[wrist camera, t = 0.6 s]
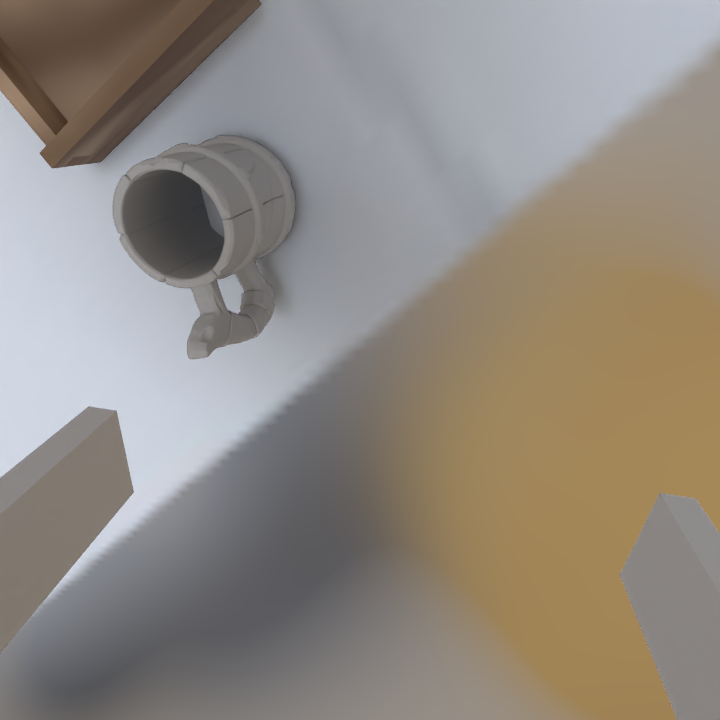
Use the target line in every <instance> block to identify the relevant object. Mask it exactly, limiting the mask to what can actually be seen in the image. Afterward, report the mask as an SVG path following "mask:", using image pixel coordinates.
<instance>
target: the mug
mask: <svg viewBox="0 0 720 720" xmlns="http://www.w3.org/2000/svg"><path fill="white" fill-rule="evenodd" d="M294 214H295V193H294V191H293V189H292V185H291V178H290V176H289V174H288V172H287V171H286V169H285V167H284V166H283V164H282V163H281V162H280V161H279V159H278V158H277V157H276V156H275V155H274V154H272V153H271V152H270V151H268V150H267V149H266V148H264V147H263V146H261V145H260V144H258V143H256V142H254V141H252V140H249V139H246V138H243V137H238V136H225V135H219V136H216V137H214V138H212V139H209V140H207V141H205V142H203V143H201V144H200V145H189V144H187V143H181V144H178V145H176V146H174V147H172V148H170V149H168V150H166V151H164V152H163V153H161V154H160V155H158V156H157V157H155V158H151V159H147V160H144V161H142V162H140V163H138V164H136V165H134V166H133V167H131V168H130V170H129V171H128V172H127V173H126V175H123V176H122V178H121V179H120V181H119V183H118V185H117V187H116V190H115V194H114V199H113V218H114V223H115V226H116V228H117V231H118V233H120V234H122V235H121V236H120V242H121V244H122V246H123V247H124V249H125V250H126V252H127V253H128V255H129V256H130V258H131V259H132V260H133V261H134V262H135V263H136V264H137V265H138V266H139V267H140V268H141V269H142V270H143V271H144V272H145V273H147V274H148V275H149V276H151V277H152V278H154V279H156V280H158V281H160V282H165V281H166V284H168V285H171V286H174V287H179V288H191V290H192V292H193V295H194V298H195V301H196V304H197V306H198V308H199V311H200V317H199V318H198V319H197V320H196V321H195V323H194V325H193V327H192V330H191V333H190V335H189V338H188V341H187V354H188V358H189V359H199V358H205V357H208V356H209V355H210V354H211V353H212V351H213V350H214V349H216V348H219V347H223V346H226V345H229V344H235V343H241V342H243V341H246V340H249V339H252V338H255V337H257V336H258V335H259V334H260V333H261V332H262V330H263V329H264V327H265V326H266V325H267V323H268V322H269V320H270V319H271V316H272V314H273V310H274V307H275V304H274V302H273V299H274V295H275V293H274V290H273V288H272V286H271V285H270V284H269V283H268V282H267V281H266V280H265V279H264V277H263V276H262V274H261V273H260V271H259V269H258V267H257V265H256V262H255V259H258V258H261V257H264V256H266V255H268V254H269V253H271V252H272V251H274V250H275V249H276V248H277V247H278V246H279V245H280V244H281V243H282V242H283V241H284V240H285V238H286V237H287V235H288V233H289V231H290V229H291V227H292V223H293V219H294ZM232 274H236V277H237V279H238V280H239V282H240V284H241V285H242V287H243V289H244V293H242V300H241V306H240V310H241V311H240V312H239V313H238V314H236V313H233V312H231V311H229V310H227V308H226V306H225V303H224V301H223V298H222V295H221V292H220V289H219V286H218V283H217V279H222V278H225V277H228V276H230V275H232Z"/></svg>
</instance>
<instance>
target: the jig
mask: <svg viewBox="0 0 720 720" xmlns="http://www.w3.org/2000/svg"><path fill="white" fill-rule="evenodd" d="M260 5H261V2H260V1H259V0H0V91H1V92H2V93H3V94H4V95H5V97H6V98H7V99H8V100H9V101H10V103H11V104H12V105H13V106H14V107H15V109H16V110H17V111H18V112H19V113H20V115H21V116H22V117H23V118H24V119H25V121H26V122H27V123H28V124H29V125H30V127H31V128H32V129H33V130H34V131H35V133H36V134H37V135H38V136H39V137H40V139H41V140H42V141H43V142H44V143H45V145H46V147H45V148H44V149H43V150H42V151H41V152H40V154H41V156H42V157H43V158H44V159H45V160H46V162H47V163H48V164H49V165H50V166H51V168H59V167H67V166H74V165H82V164H90V163H98V162H101V161H102V160H103V159H104V158H105V157H106V156H107V155H108V154H109V153H110V152H111V151H112V150H113V149H114V148H115V147H116V146H117V145H118V144H119V143H120V142H121V141H122V140H123V139H124V138H125V137H126V136H127V135H128V134H129V133H131V132H132V131H133V130H134V129H135V128H136V127H137V126H138V125H139V124H140V123H141V122H142V121H143V120H144V119H145V118H146V117H147V116H148V115H149V114H150V113H151V112H152V111H153V110H154V109H155V108H156V107H157V106H158V105H159V104H160V103H161V102H162V101H163V100H164V99H165V98H166V97H167V96H168V95H169V94H170V93H171V92H172V91H173V90H174V89H175V88H176V87H177V86H178V85H179V84H180V83H181V82H182V81H183V80H184V79H186V78H187V77H188V76H189V75H190V74H191V73H192V72H193V71H194V70H195V69H196V68H197V67H198V66H199V65H200V64H201V63H202V62H203V61H204V60H205V59H206V58H207V57H208V56H209V55H210V54H211V53H212V52H213V51H214V50H215V49H216V48H217V47H218V46H219V45H220V44H221V43H222V42H223V41H224V40H225V39H226V38H227V37H228V36H229V35H230V34H231V33H232V32H233V31H234V30H235V29H236V28H237V27H238V26H240V25H241V24H242V23H243V22H244V21H245V20H246V19H247V18H248V17H249V16H250V15H251V14H252V13H253V12H254V11H255V10H256V9H257V8H258V7H259V6H260Z"/></svg>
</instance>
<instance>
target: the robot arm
mask: <svg viewBox="0 0 720 720" xmlns="http://www.w3.org/2000/svg"><path fill="white" fill-rule="evenodd" d="M133 492H134V491H133V486H132V482H131V477H130V472H129V467H128V463H127V458H126V453H125V448H124V444H123V439H122V434H121V429H120V425H119V420H118V415H117V411H115V410H108V409H102V408H95V407H87V408H86V409H85V410H84V411H83V412H81V413H80V414H79V415H78V416H76V417H75V418H74V419H73V420H71V421H70V422H69V423H68V424H66V425H65V426H64V427H63V428H61V429H60V430H59V431H58V432H57V433H55V434H54V435H53V436H52V437H50V438H49V439H48V440H47V441H45V442H44V443H43V444H42V445H40V446H39V447H38V448H37V449H36V450H34V451H33V452H32V453H31V454H29V455H28V456H27V457H26V458H24V459H23V460H22V461H21V462H19V463H18V464H17V465H16V466H15V467H13V468H12V469H11V470H10V471H8V472H7V473H6V474H5V475H3V476H2V477H1V478H0V653H1V652H2V651H3V649H4V648H5V647H6V646H7V645H8V643H9V642H10V641H11V640H12V639H13V637H14V636H15V635H16V634H17V633H18V631H19V630H20V629H21V628H22V626H23V625H24V624H25V623H26V622H27V620H28V619H29V618H30V617H31V616H32V614H33V613H34V612H35V611H36V610H37V608H38V607H39V606H40V605H41V604H42V602H43V601H44V600H45V599H46V597H47V596H48V595H49V594H50V593H51V591H52V590H53V589H54V588H55V587H56V585H57V584H58V583H59V582H60V581H61V579H62V578H63V577H64V576H65V575H66V573H67V572H68V571H69V570H70V569H71V567H72V566H73V565H74V564H75V562H76V561H77V560H78V559H79V558H80V556H81V555H82V554H83V553H84V552H85V550H86V549H87V548H88V547H89V546H90V544H91V543H92V542H93V541H94V540H95V538H96V537H97V536H98V535H99V533H100V532H101V531H102V530H103V529H104V527H105V526H106V525H107V524H108V523H109V521H110V520H111V519H112V518H113V517H114V515H115V514H116V513H117V512H118V511H119V509H120V508H121V507H122V506H123V504H124V503H125V502H126V501H127V500H128V498H129V497H130V496H131V495H132V494H133ZM620 577H621V580H622V582H623V584H624V587H625V589H626V592H627V595H628V597H629V600H630V602H631V605H632V607H633V610H634V612H635V615H636V617H637V620H638V622H639V625H640V627H641V630H642V632H643V635H644V637H645V640H646V643H647V645H648V648H649V650H650V652H651V655H652V658H653V660H654V663H655V665H656V668H657V670H658V672H659V675H660V678H661V680H662V683H663V685H664V688H665V690H666V693H667V695H668V698H669V700H670V703H671V705H672V708H673V710H674V713H675V715H676V718H677V720H720V534H719V532H718V530H717V529H716V527H715V526H714V525H713V523H712V522H711V520H710V519H709V517H708V516H707V514H706V513H705V511H704V510H703V508H702V507H701V505H700V504H699V503H698V501H697V500H696V499H695V498H688V497H682V496H676V495H669V494H662V493H660V494H659V496H658V498H657V500H656V502H655V504H654V506H653V508H652V510H651V512H650V514H649V516H648V518H647V520H646V522H645V524H644V526H643V528H642V530H641V533H640V535H639V537H638V539H637V541H636V543H635V545H634V547H633V549H632V551H631V553H630V555H629V557H628V559H627V561H626V563H625V565H624V567H623V569H622V571H621V573H620Z"/></svg>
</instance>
